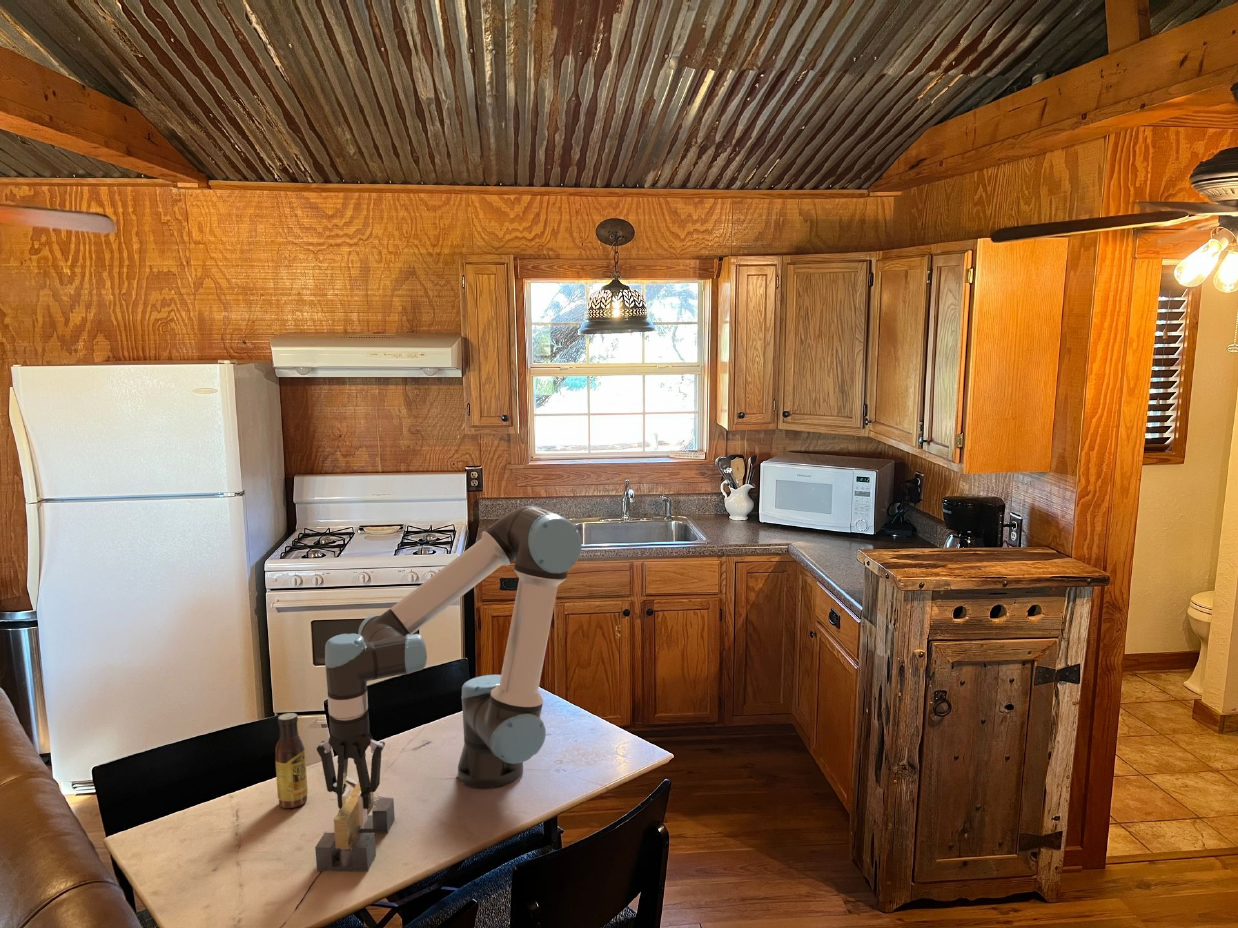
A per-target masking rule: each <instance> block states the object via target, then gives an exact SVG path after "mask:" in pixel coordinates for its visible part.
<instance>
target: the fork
mask: <svg viewBox="0 0 1238 928" xmlns="http://www.w3.org/2000/svg"><path fill="white" fill-rule="evenodd" d="M337 773H338V770H337V771H335V774H336V776H337ZM347 782H349V783H351V784H352V785H355V786H356V785H357V783H358V782H357V781H356V780H354V779H353V778H351V777H349V776H348V775H347ZM379 798H388V797H387V796H383V795H380V794H379V793H378V794H375V795H374V803H375V802H376V803H377V801H378V800H379Z"/></svg>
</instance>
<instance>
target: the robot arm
mask: <svg viewBox="0 0 1238 928" xmlns="http://www.w3.org/2000/svg"><path fill="white" fill-rule="evenodd" d="M582 546H583V544H582V538H581V535H580V532H579V530H578V528H577V527H576V525H575V524H574V523H572V522H571V521H570V520H569V519H567V518H566V517H565V516H563V515H561V514H557V513H555V512H552V511H550V510H547V509H545V508H542V507H540V506H536V505H527V506H521V507H519V508H516V509H514V510H512V511H511V512H509V513H507V514H505V515H504V516H503V517H501V518H499V519H498V520H497V521H495V522H494V523H493V524H492V525H490V526H488V527H487V528H486V529H485V530H483V531H482V533H481V538H480V539H479V540H477V542H475V543H474V544H473V545H472V546H470V547H469V548H468V549H466V550H465V551H463V552H461V554H459V555H458V556H457V557H456V558H455V559H453V560H451V562H449V563H447V564H446V565H445V566H443V568H441V569H440V570H438V571H437V572H436V573H434V574H433V575H432V576H430V577H429V578H428V579H427V580H426V581H424V582H423V583H422V584H420V585H419V586H418V587H417V588H415V589H414V590H413V591H411V592H410V593H408V594H407V595H406V596H405V597H403V598H402V599H401V600H399V601H398V602H397V603H395V604H394V605H393V606H392V607H390V608H389V609H388V610H386V611H385V612H383V613H382V614H373V615H370V616H368V617H366V618H365V619H364V620H363V621H362V622H361V623H360V625H359V628H358V634H357V633H341V634H337V635H335V636H332V637H331V638H329V639H328V640H327V641H326V643H325V646H324V656H325V657H324V659H325V660H324V665H325V678H326V688H327V689H326V690H327V705H328V707H327V709H328V715H329V717H328V721H329V722H328V724H329V734H330V736H329V738H328V740H322V741H321V742H320V743H319V744H318V746H317V747H316V751H317V754H318V755H319V756H320V760H321V764H322V765H321V766H322V770H323V776H324V780H325V786H326V790H327V792H328V793H332V792H333V793H335V794H336V797H337V807H338V810H339V809H341V808H342V806H343V805H344V803H345V802H346V800H347V799H348V797H349V796H350V794H351V789H350V788H347V787H348V784H347V782H348V781H347V776H348V766H349V759H353V763H354V765H355V767H356V768H355V769H356V774H357V778H358V782H359V784H360V789H361V792H360V793H359V795H358V807H359V824H360V826H364V824H365V822H366V821H367V819H368V818H367V809H368V808H369V806H370V805H371V793H370V792H373V793H375V792H376V791H377V789H378V787H379V786H380V783H381V781H380V780H381V768H382V767H381V765H382V764H381V763H382V752H383V750H384V748H385V746H386V743H385V742H384V741H383V740H381V741H377V740H374V739H373V736H372V735H371V732H370V719H369V718H370V717H369V711H368V709H369V702H368V701H369V700H368V685H367V684H368V682H371V681H374V680H381V679H385V678H390V677H395V676H396V677H397V676H400V675H406V674H407V675H410V674H412V673H415V672H418V671H422V670H424V669H425V667H426V665H427V661H428V654H427V653H428V652H427V646H426V642H425V640H424V638H423V635H420V634H419V633H416V632H417V631H419V630H420V629H421V628H422V627H424V626H425V625H427V624H428V623H429V622H430V621H431V620H433V619H434V618H436V617H437V616H438V615H439V614H441V613H442V612H444V611H445V610H446V609H447V608H449V607H450V606H451V605H453V604H454V603H455V602H457V600H459V599H460V598H462V597H463V596H464V595H465V594H466V593H468V592H469V591H471V589H473V588H474V587H476V586H477V585H478V584H479V583H481V582H482V581H483V580H484V579H486V578H487V577H488V576H490V575H491V574H493V572H495V571H496V570H497V569H499V568H500V567H501V566H510V565H511V564H512V563H514V566H513V571H514V572H515V574H516V576H518V583H517V590H516V594H515V599H514V605H513V611H512V616H511V619H510V620H511V621H510V626H509V631H508V636H507V642H506V648H505V652H504V657H503V662H502V669H501V673H500V674H486V675H481V676H476V677H473V678H471V679H469V680H466V681H465V682H464V683H463V685H462V686H461V697H460V699H461V705H462V706H461V708H462V724H463V725H462V726H463V747H462V750H461V754H460V756H459V757H460V758H459V761H458V765H457V776H458V779H459V782H461V783H462V784H463V785H465V786H467V787H470V788H473V789H480V790H481V789H482V790H483V789H484V790H486V789H487V790H489V789H491V790H492V789H497V788H502V787H506V786H508V785H511V784H512V783H514V782H516V781H517V780H519V779H520V778H521V776H522V775H523V773H524V763H525V762H526V761H529V760H530V759H531V758H532V757H533V756H536V755H537V754H538V753H539V752H540V750H541V748H542V747H543V745H544V743H545V740H546V736H547V733H546V732H547V729H546V727H545V724H544V721H543V720H542V719H541V715H542V708H543V704H544V698H543V696H542V695H541V694H540V693H539V688H540V682H541V677H542V673H543V666H544V661H545V656H546V651H547V645H548V641H549V635H550V630H551V626H552V625H551V624H552V619H553V613H554V610H555V604H556V598H557V593H558V587H559V586H560V585H561V584H562V583H563V582H565V581H566V580H567V579H568V578H567V577H568V573H569V570H570V569H571V568H572V567H573V565H576V563H577V562H578V560H579V558H580V557H581V553H582V548H583V547H582ZM414 633H415V634H414ZM369 747H370V752H371V754H372V756H371V764H370V765H371V767H370V775H369V769H368V764H367V760H366V756H367V755H366V751H367V749H368V748H369ZM332 750H333V751H334V752H335V754H337V771H338V773H337V775H336V770H335V763H334V759H333V754H332ZM369 778H371V780H370V779H369Z"/></svg>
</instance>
